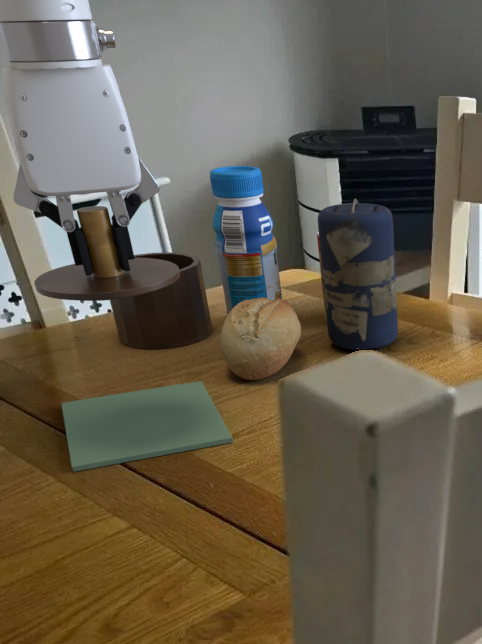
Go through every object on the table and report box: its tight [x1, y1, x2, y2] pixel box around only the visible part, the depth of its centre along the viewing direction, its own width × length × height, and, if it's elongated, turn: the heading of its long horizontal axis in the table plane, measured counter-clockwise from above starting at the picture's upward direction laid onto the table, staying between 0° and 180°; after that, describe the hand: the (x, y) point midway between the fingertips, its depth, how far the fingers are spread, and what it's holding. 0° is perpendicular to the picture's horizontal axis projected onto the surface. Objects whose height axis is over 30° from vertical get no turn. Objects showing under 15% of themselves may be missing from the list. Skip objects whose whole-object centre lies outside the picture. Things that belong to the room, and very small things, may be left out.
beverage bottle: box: [209, 165, 283, 317], centre depth 115 cm, size 8×8×20 cm
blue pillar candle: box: [317, 198, 399, 351], centre depth 107 cm, size 10×10×18 cm
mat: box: [60, 380, 234, 473], centre depth 91 cm, size 16×18×1 cm
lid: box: [34, 205, 180, 302], centre depth 81 cm, size 14×14×7 cm
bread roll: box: [220, 297, 302, 381], centre depth 104 cm, size 10×15×8 cm, turn 0°
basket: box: [109, 251, 213, 350], centre depth 114 cm, size 13×13×10 cm
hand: (106, 268), depth 82 cm, fingers closed on lid, 2 cm apart
